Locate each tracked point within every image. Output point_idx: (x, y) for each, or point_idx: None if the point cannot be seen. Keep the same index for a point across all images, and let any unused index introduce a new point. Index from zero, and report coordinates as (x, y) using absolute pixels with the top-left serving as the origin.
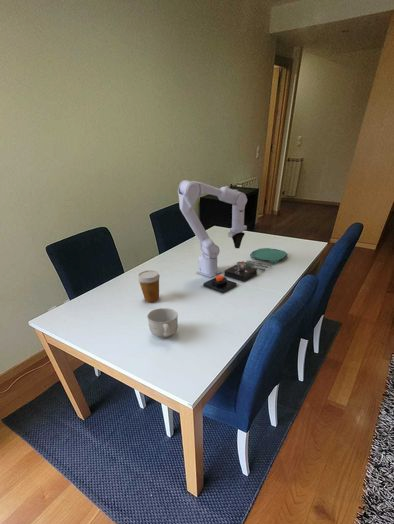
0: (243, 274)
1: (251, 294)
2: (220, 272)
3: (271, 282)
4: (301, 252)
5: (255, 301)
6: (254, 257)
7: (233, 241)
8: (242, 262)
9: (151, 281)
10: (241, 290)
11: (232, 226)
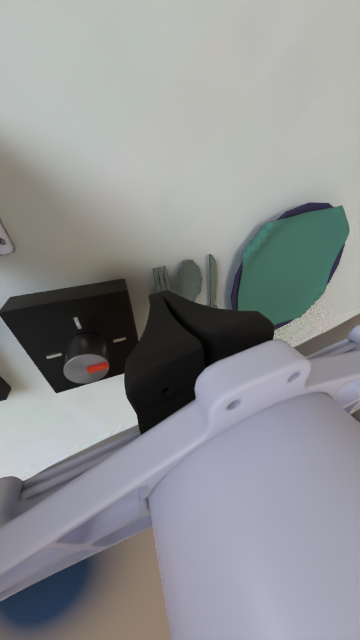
0: (66, 382)
1: (29, 432)
2: (6, 253)
3: None
4: (332, 307)
5: (15, 456)
6: (243, 268)
7: (147, 321)
8: (97, 369)
9: None
10: (12, 412)
11: (188, 623)
